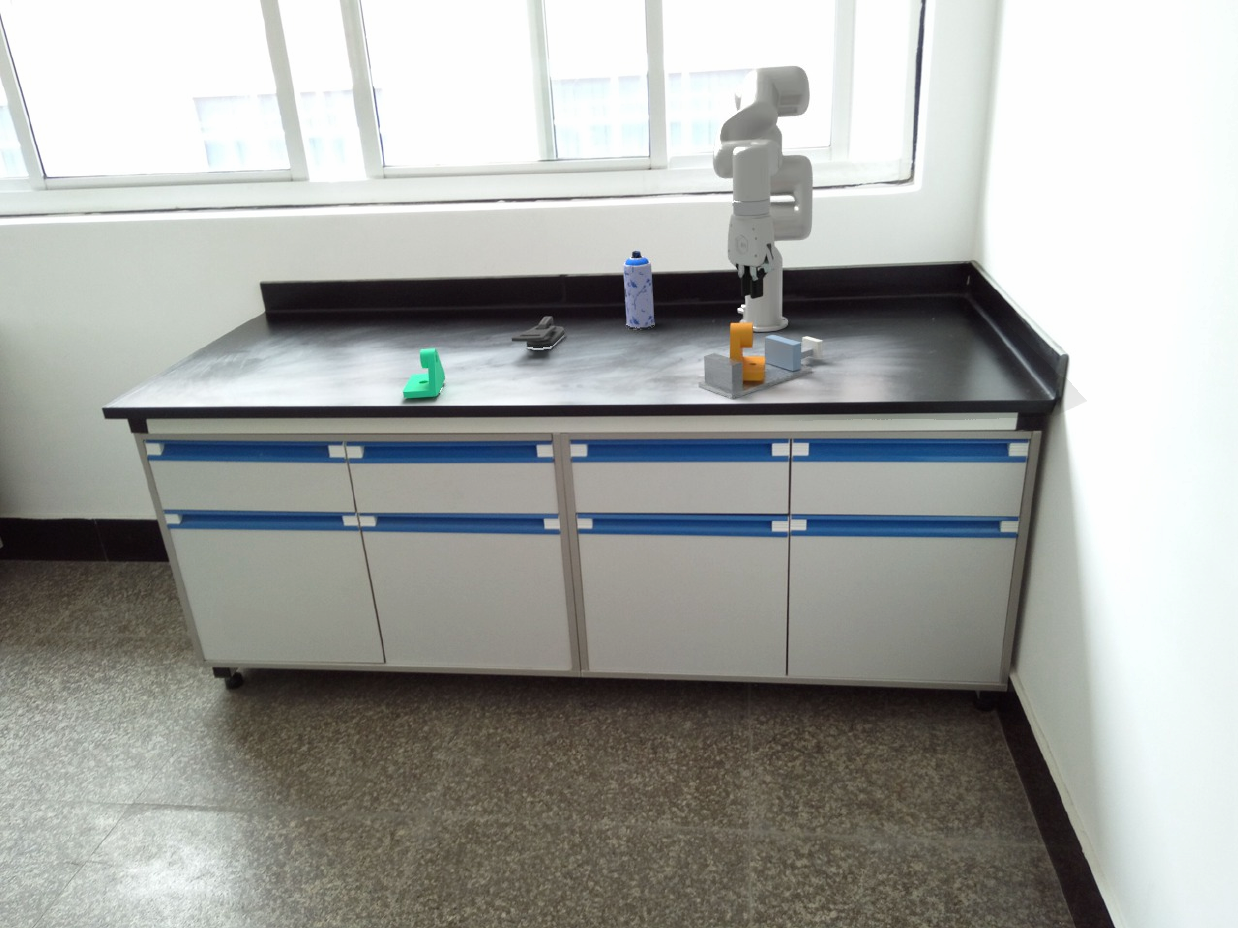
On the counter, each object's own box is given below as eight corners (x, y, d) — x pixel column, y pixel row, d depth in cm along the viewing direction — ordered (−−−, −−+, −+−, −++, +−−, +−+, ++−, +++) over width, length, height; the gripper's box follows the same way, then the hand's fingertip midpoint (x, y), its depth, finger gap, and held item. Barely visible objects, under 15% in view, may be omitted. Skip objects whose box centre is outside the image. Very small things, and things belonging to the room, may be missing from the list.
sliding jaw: (764, 362, 209) (764, 337, 206) (800, 350, 215) (800, 326, 212) (792, 371, 202) (793, 345, 200) (828, 359, 208) (829, 333, 205)
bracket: (763, 384, 196) (763, 330, 191) (729, 384, 198) (728, 330, 193) (765, 367, 206) (765, 316, 201) (733, 367, 207) (732, 316, 202)
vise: (698, 386, 201) (697, 356, 198) (777, 361, 213) (777, 332, 210) (731, 399, 192) (731, 367, 189) (811, 372, 204) (812, 342, 201)
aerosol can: (628, 321, 251) (623, 249, 243) (656, 321, 250) (652, 248, 242) (624, 329, 244) (619, 255, 236) (653, 329, 243) (649, 254, 235)
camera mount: (413, 385, 215) (406, 343, 211) (445, 382, 215) (439, 341, 211) (403, 403, 204) (396, 359, 200) (437, 400, 204) (430, 357, 200)
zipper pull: (508, 338, 222) (532, 310, 244) (511, 364, 224) (535, 334, 247) (543, 337, 220) (565, 309, 242) (546, 363, 223) (567, 333, 245)
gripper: (712, 207, 191) (714, 293, 198) (765, 215, 178) (765, 306, 186) (738, 202, 194) (739, 287, 202) (792, 209, 182) (791, 299, 190)
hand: (752, 295), depth 194 cm, fingers closed
